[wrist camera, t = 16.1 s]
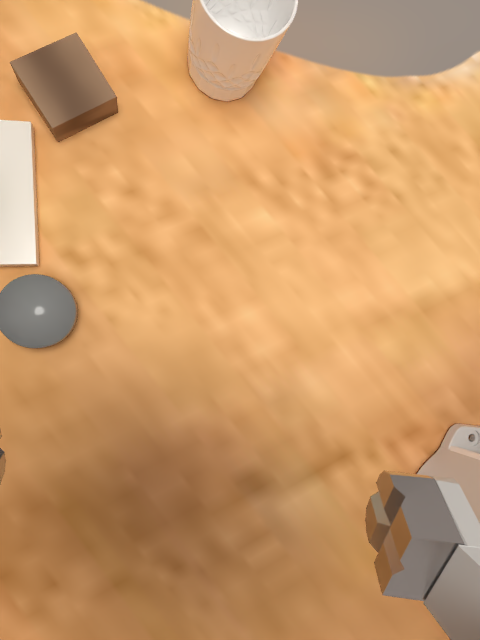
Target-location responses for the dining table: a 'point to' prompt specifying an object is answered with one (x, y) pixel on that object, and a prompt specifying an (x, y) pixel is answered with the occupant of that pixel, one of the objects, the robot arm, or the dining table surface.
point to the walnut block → (66, 86)
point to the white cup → (234, 42)
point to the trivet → (18, 195)
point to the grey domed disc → (37, 311)
